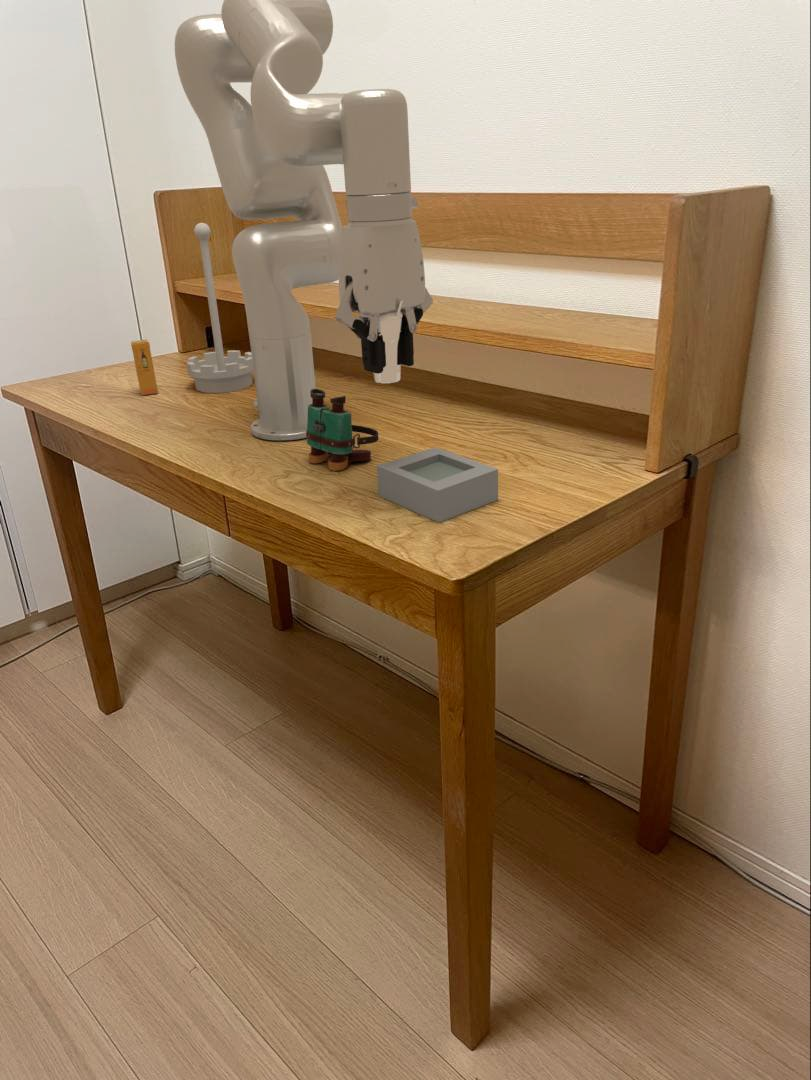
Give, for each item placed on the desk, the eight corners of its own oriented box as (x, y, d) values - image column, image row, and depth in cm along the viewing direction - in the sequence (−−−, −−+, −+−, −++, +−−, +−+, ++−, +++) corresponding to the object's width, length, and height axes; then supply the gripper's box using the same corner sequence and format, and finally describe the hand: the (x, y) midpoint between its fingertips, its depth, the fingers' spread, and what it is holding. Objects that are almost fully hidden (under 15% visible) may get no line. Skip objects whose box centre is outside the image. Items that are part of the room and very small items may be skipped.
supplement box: (157, 389, 164) (148, 338, 160) (158, 394, 161) (149, 341, 157) (139, 391, 164) (130, 340, 159) (140, 396, 161) (131, 343, 156)
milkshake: (392, 387, 102) (388, 303, 98) (361, 381, 106) (356, 300, 102) (417, 380, 105) (414, 297, 101) (386, 374, 109) (382, 294, 105)
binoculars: (388, 391, 120) (334, 400, 114) (387, 462, 124) (334, 475, 118) (347, 381, 126) (294, 389, 120) (347, 449, 130) (295, 461, 123)
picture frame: (378, 495, 110) (376, 465, 109) (436, 475, 116) (435, 447, 114) (439, 522, 102) (438, 490, 100) (498, 499, 107) (498, 469, 106)
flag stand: (257, 391, 160) (236, 223, 147) (187, 396, 159) (160, 228, 146) (257, 374, 172) (238, 217, 159) (193, 379, 170) (168, 222, 158)
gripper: (415, 204, 105) (422, 352, 112) (300, 216, 95) (316, 376, 103) (455, 205, 99) (459, 360, 107) (337, 218, 90) (351, 386, 98)
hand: (389, 366), depth 105 cm, fingers closed on milkshake, 4 cm apart
